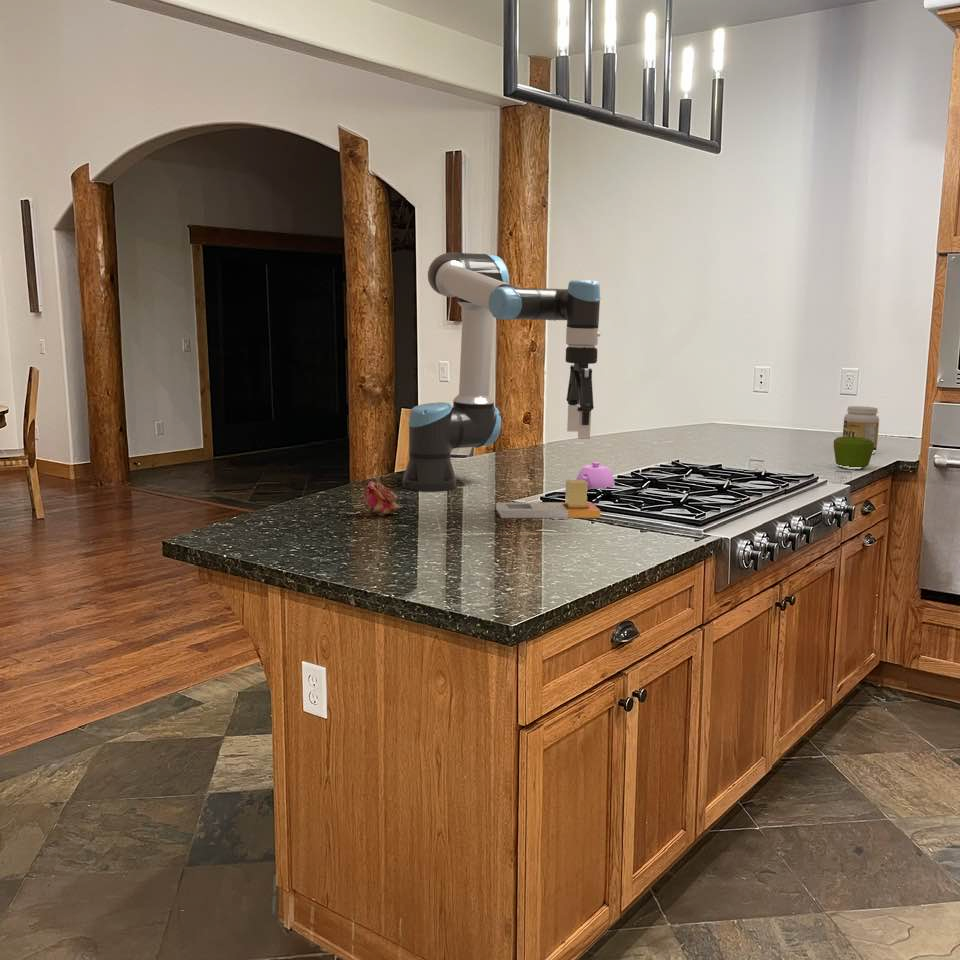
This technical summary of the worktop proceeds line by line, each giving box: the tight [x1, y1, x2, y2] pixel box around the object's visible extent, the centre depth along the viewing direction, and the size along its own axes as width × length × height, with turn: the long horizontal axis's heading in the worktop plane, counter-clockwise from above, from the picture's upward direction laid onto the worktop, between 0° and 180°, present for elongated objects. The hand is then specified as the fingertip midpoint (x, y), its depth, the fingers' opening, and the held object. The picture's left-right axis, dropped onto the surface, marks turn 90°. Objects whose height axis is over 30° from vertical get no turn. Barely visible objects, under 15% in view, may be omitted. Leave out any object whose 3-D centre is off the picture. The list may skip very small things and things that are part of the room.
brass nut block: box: [564, 479, 588, 509], centre depth 238 cm, size 4×4×8 cm
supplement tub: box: [842, 405, 880, 451], centre depth 361 cm, size 12×12×17 cm
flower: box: [363, 480, 402, 517], centre depth 236 cm, size 10×9×8 cm
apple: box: [833, 435, 874, 468], centre depth 323 cm, size 12×12×11 cm
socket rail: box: [495, 501, 601, 519], centre depth 238 cm, size 24×10×2 cm, turn 96°
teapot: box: [575, 461, 616, 489], centre depth 264 cm, size 10×15×9 cm
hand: (578, 435), depth 235 cm, fingers open, 13 cm apart
